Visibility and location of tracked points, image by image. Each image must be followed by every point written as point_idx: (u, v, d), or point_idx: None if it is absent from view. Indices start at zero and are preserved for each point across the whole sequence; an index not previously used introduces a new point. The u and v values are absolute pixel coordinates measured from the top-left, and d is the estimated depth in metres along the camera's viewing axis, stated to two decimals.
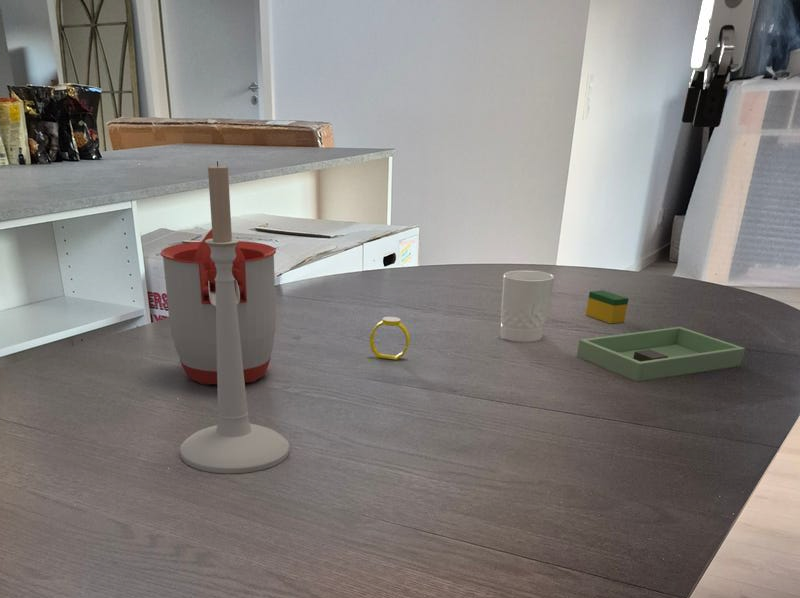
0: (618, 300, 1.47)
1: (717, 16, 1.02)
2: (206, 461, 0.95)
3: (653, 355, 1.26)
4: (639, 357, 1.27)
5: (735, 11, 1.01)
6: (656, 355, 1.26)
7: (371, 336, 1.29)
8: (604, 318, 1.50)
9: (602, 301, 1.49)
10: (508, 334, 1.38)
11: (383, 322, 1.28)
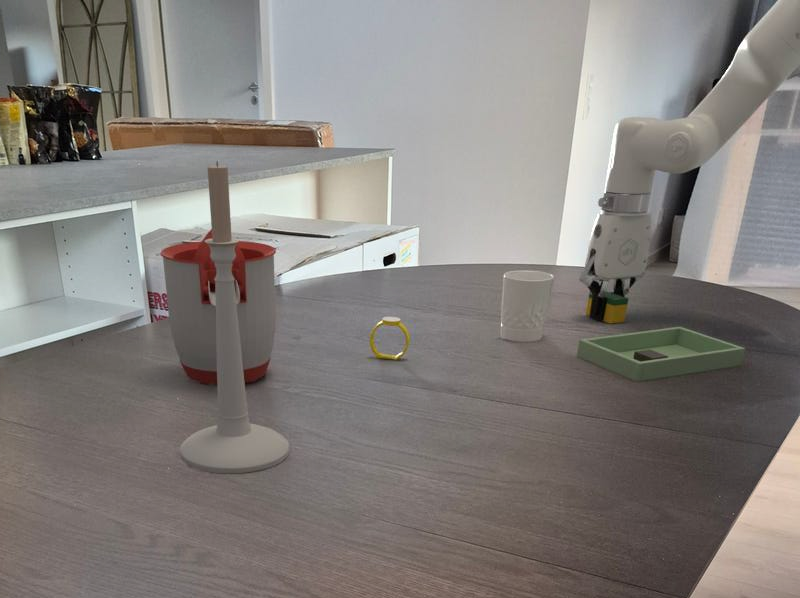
0: (618, 300, 1.47)
1: (590, 242, 1.44)
2: (206, 461, 0.95)
3: (653, 355, 1.26)
4: (639, 357, 1.27)
5: (597, 240, 1.42)
6: (656, 355, 1.26)
7: (371, 336, 1.29)
8: (604, 318, 1.50)
9: None
10: (508, 334, 1.38)
11: (383, 322, 1.28)
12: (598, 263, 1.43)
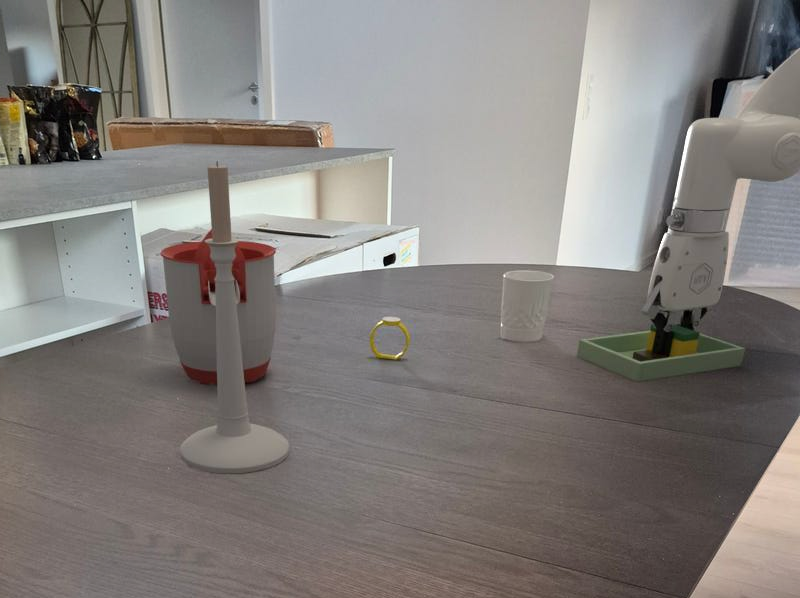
0: (688, 335, 1.24)
1: (655, 267, 1.21)
2: (206, 461, 0.95)
3: (652, 355, 1.26)
4: (638, 357, 1.27)
5: (664, 266, 1.19)
6: (655, 355, 1.26)
7: (371, 336, 1.29)
8: (670, 356, 1.27)
9: None
10: (508, 334, 1.38)
11: (383, 322, 1.28)
12: (665, 292, 1.20)
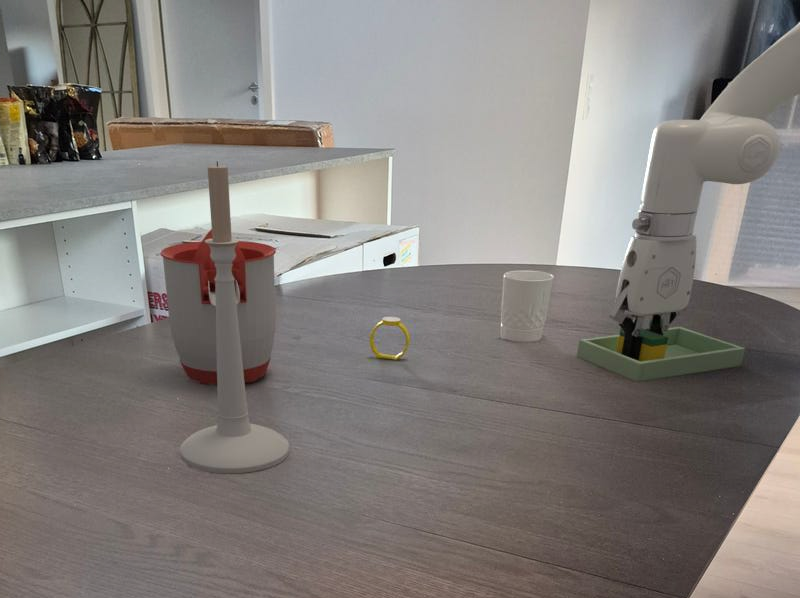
0: (656, 340, 1.22)
1: (622, 271, 1.19)
2: (206, 461, 0.95)
3: None
4: None
5: (630, 270, 1.18)
6: None
7: (371, 336, 1.29)
8: None
9: None
10: (508, 334, 1.38)
11: (383, 322, 1.28)
12: (632, 297, 1.18)
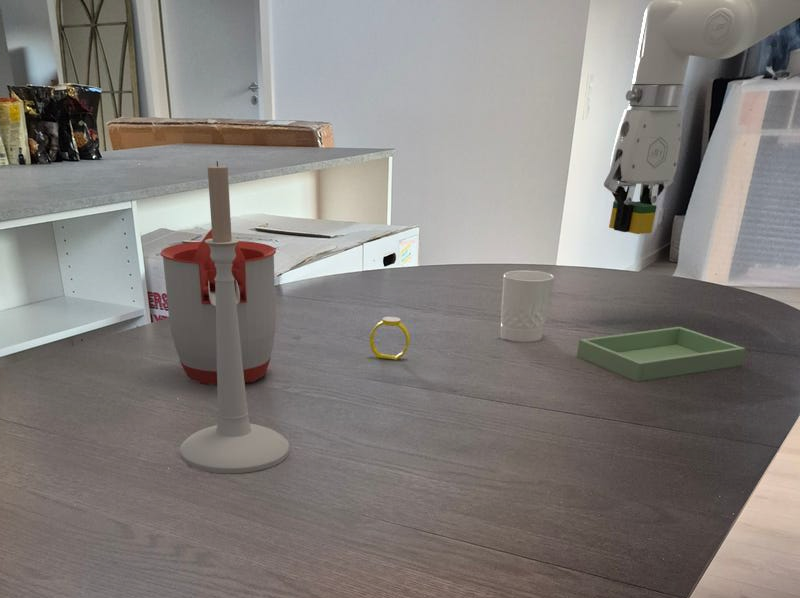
0: (646, 207, 1.35)
1: (616, 142, 1.33)
2: (206, 461, 0.95)
3: None
4: None
5: (624, 139, 1.31)
6: None
7: (371, 336, 1.29)
8: (630, 229, 1.38)
9: None
10: (508, 334, 1.38)
11: (383, 322, 1.28)
12: (625, 165, 1.32)
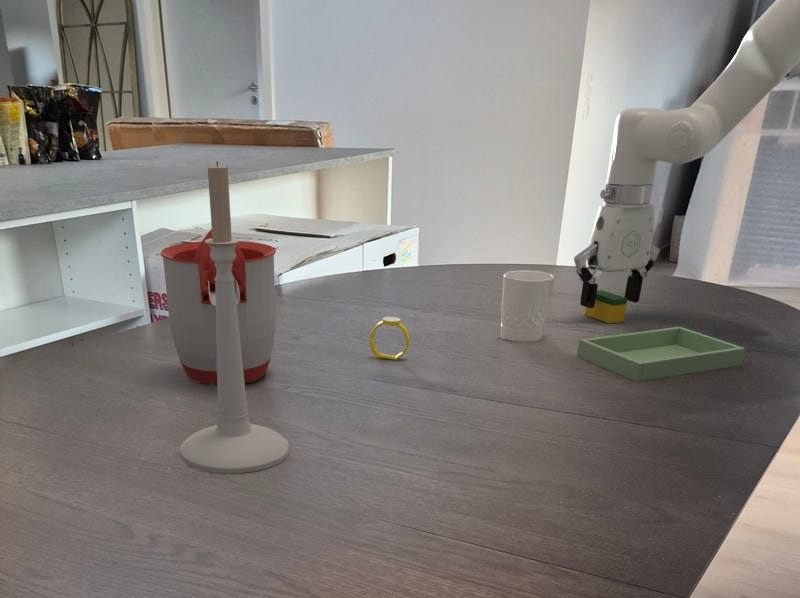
0: (617, 300, 1.47)
1: (592, 234, 1.43)
2: (206, 461, 0.95)
3: None
4: None
5: (599, 233, 1.42)
6: None
7: (371, 336, 1.29)
8: (603, 318, 1.50)
9: (601, 301, 1.49)
10: (508, 334, 1.38)
11: (383, 322, 1.28)
12: (601, 255, 1.42)
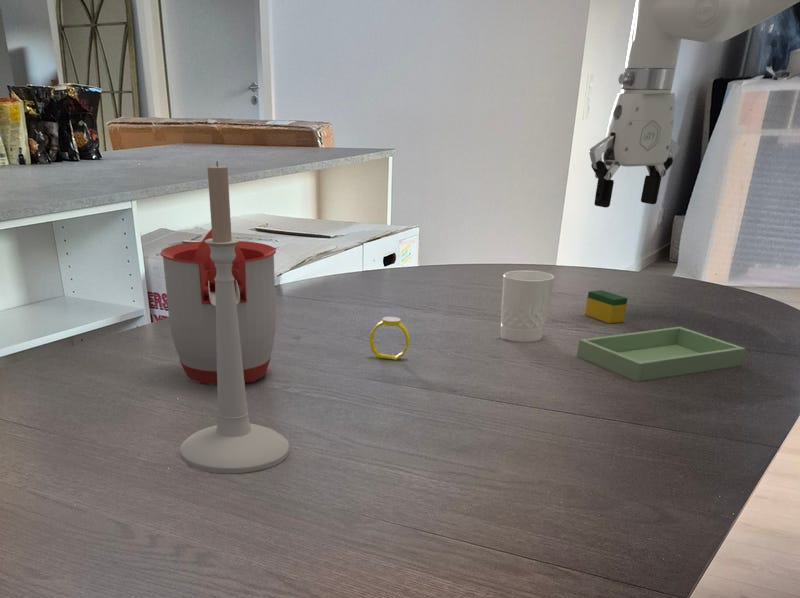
0: (617, 300, 1.47)
1: (609, 125, 1.35)
2: (206, 461, 0.95)
3: None
4: None
5: (617, 122, 1.33)
6: None
7: (371, 336, 1.29)
8: (603, 318, 1.50)
9: (601, 301, 1.49)
10: (508, 334, 1.38)
11: (383, 322, 1.28)
12: (618, 147, 1.34)
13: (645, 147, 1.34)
